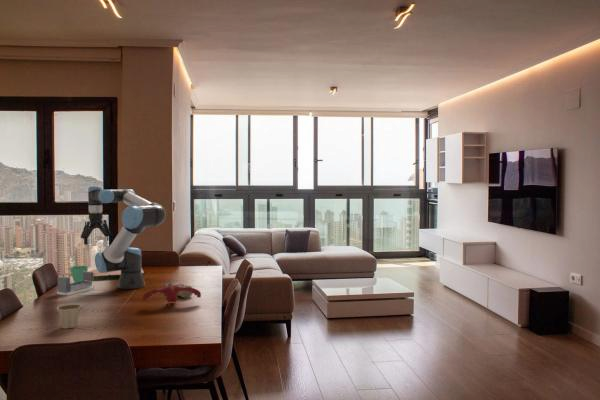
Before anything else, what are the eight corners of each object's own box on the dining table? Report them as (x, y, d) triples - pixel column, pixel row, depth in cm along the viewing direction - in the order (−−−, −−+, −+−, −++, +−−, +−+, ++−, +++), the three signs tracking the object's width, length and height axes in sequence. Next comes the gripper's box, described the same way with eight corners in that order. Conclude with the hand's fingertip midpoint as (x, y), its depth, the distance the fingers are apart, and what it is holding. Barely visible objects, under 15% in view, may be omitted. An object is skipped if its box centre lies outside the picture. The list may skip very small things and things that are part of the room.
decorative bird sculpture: (142, 315, 252) (141, 298, 242) (143, 299, 259) (142, 282, 248) (200, 311, 260) (201, 294, 250) (199, 296, 266) (200, 278, 256)
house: (89, 275, 337) (89, 263, 337) (141, 271, 349) (141, 259, 349) (88, 281, 316) (88, 268, 315) (144, 277, 328) (143, 265, 327)
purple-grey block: (85, 285, 296) (84, 271, 296) (94, 286, 292) (93, 272, 292) (77, 286, 292) (77, 272, 291) (87, 288, 288) (86, 273, 288)
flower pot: (62, 323, 223) (62, 304, 223) (84, 323, 224) (84, 303, 223) (54, 330, 214) (53, 310, 213) (77, 329, 214) (76, 309, 214)
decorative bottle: (194, 297, 273) (193, 284, 272) (181, 299, 268) (181, 287, 267) (171, 289, 292) (171, 277, 292) (159, 291, 287) (158, 279, 286)
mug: (85, 285, 304) (85, 268, 304) (68, 285, 303) (68, 268, 302) (92, 280, 318) (92, 264, 318) (76, 280, 317) (75, 264, 317)
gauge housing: (84, 287, 296) (83, 271, 296) (94, 289, 293) (94, 272, 292) (57, 294, 280) (56, 277, 280) (67, 295, 277) (67, 278, 276)
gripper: (107, 211, 310) (108, 245, 311) (73, 213, 288) (74, 250, 289) (116, 211, 307) (117, 246, 308) (82, 213, 285) (83, 251, 286)
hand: (96, 248), depth 299 cm, fingers open, 13 cm apart
